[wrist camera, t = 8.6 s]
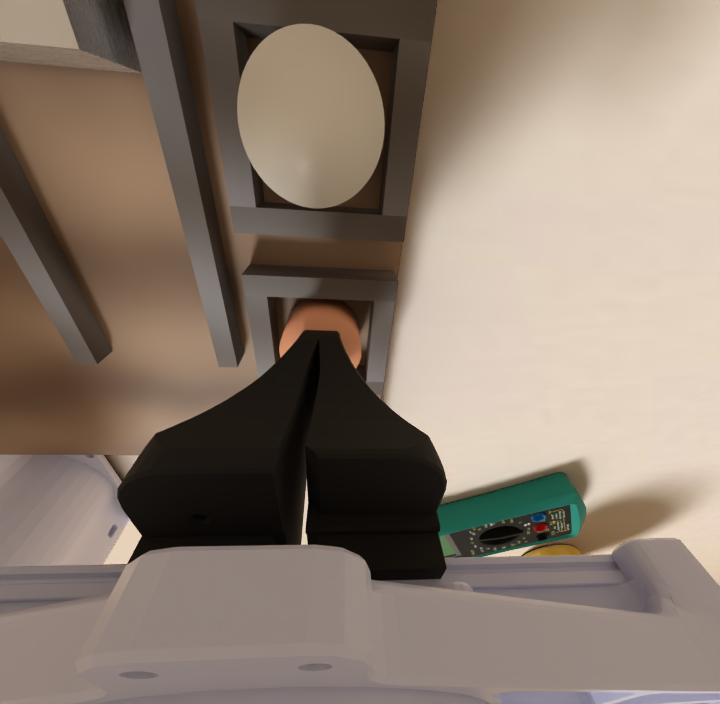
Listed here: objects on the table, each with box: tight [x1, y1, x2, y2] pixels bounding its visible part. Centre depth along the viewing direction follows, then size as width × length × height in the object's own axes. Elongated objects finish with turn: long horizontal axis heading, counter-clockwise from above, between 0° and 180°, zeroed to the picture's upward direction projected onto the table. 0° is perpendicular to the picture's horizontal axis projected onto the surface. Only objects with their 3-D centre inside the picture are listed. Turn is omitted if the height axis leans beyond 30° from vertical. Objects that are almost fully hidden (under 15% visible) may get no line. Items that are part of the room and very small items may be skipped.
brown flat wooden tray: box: [0, 0, 437, 455], centre depth 12 cm, size 22×22×4 cm
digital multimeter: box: [437, 473, 586, 558], centre depth 26 cm, size 7×15×3 cm, turn 114°
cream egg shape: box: [237, 24, 385, 208], centre depth 7 cm, size 3×3×2 cm
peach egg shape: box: [279, 298, 361, 368], centre depth 12 cm, size 3×3×2 cm
